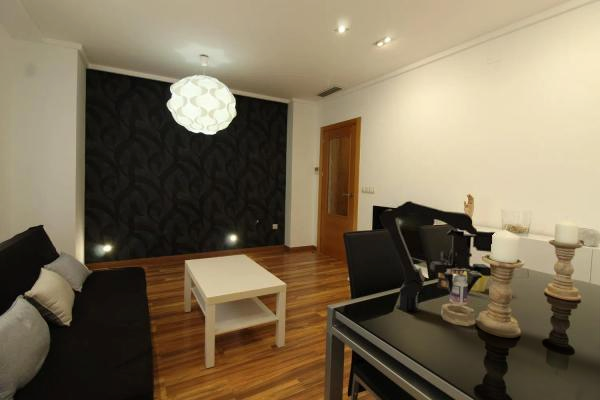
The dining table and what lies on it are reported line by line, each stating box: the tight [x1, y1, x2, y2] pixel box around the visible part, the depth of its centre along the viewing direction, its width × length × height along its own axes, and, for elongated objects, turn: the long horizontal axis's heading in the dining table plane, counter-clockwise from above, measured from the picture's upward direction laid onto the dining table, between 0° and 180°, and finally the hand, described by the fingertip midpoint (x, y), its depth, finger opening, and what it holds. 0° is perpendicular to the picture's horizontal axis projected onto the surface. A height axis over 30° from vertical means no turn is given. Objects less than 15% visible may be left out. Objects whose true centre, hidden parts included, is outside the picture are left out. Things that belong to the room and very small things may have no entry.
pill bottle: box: [449, 273, 468, 306], centre depth 106 cm, size 5×5×10 cm
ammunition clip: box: [437, 262, 464, 291], centre depth 137 cm, size 11×2×12 cm, turn 45°
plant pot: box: [463, 268, 491, 293], centre depth 138 cm, size 10×10×10 cm
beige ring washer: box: [440, 302, 477, 327], centre depth 106 cm, size 10×10×4 cm
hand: (458, 292), depth 106 cm, fingers closed on pill bottle, 5 cm apart
